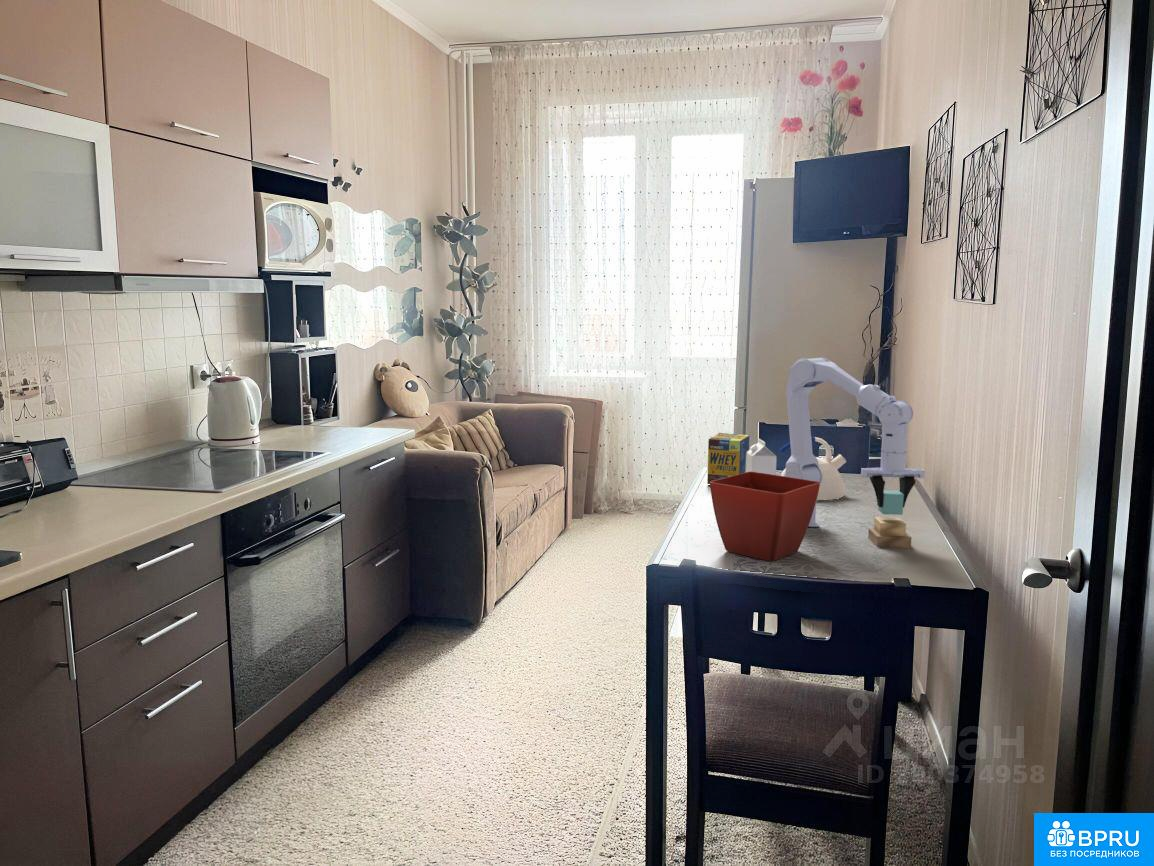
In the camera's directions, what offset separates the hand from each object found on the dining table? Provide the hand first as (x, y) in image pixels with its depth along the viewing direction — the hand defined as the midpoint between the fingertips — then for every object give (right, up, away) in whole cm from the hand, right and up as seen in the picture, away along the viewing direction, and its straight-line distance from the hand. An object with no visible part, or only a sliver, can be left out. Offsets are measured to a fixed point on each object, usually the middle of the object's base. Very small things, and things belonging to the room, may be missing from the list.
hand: (890, 506), depth 207 cm
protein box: (-26, +1, +74) cm, 78 cm away
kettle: (-4, -1, +57) cm, 57 cm away
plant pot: (-33, -10, -7) cm, 35 cm away
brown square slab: (0, -9, +1) cm, 10 cm away
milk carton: (-23, -3, +42) cm, 48 cm away
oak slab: (0, -6, +1) cm, 7 cm away
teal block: (0, -1, 0) cm, 2 cm away
